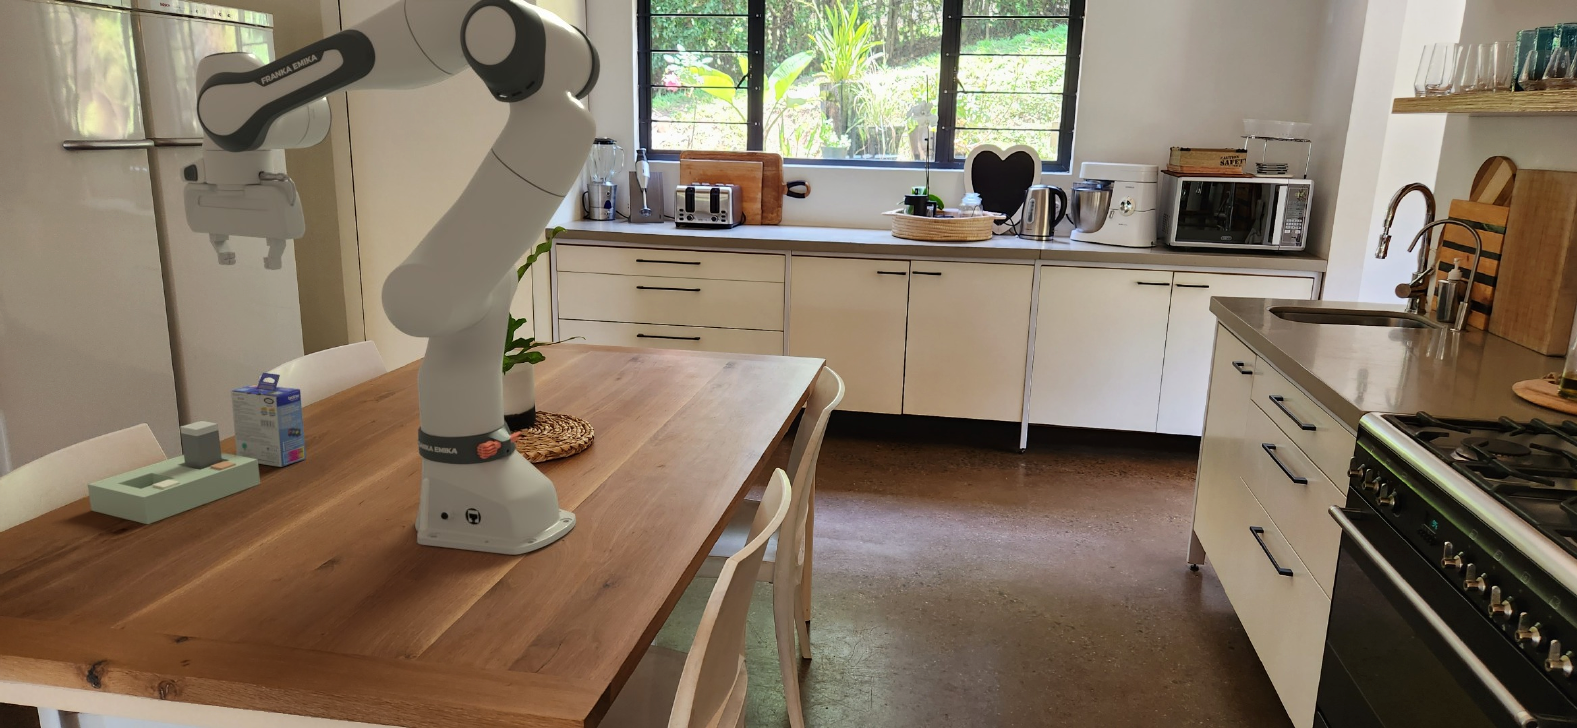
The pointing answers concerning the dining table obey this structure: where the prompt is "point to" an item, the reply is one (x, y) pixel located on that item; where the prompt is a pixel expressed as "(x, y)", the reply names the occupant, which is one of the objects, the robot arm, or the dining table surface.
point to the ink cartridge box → (269, 423)
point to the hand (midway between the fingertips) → (250, 267)
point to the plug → (201, 444)
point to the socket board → (171, 487)
